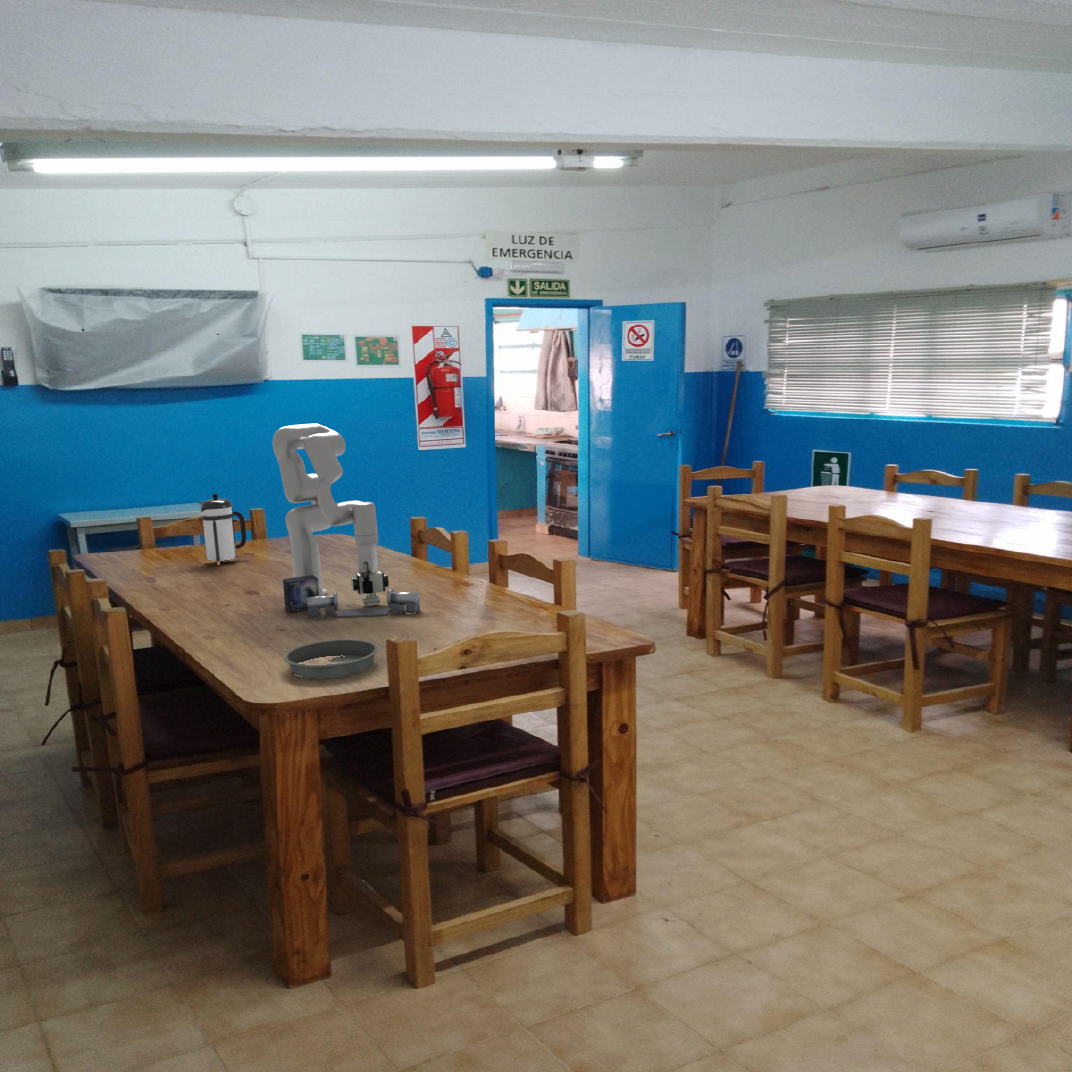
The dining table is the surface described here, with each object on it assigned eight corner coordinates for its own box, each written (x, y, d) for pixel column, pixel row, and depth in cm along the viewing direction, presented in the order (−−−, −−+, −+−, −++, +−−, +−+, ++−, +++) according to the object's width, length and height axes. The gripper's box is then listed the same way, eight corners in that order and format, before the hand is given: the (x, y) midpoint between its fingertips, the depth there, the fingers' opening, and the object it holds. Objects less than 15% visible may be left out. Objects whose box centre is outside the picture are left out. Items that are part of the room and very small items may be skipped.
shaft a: (308, 619, 329) (306, 596, 328) (309, 614, 335) (307, 592, 334) (338, 616, 330) (336, 593, 329) (338, 612, 336) (336, 589, 335)
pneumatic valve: (390, 604, 344) (387, 569, 342) (355, 608, 340) (352, 573, 338) (387, 601, 349) (384, 566, 347) (352, 605, 345) (349, 570, 344)
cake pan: (268, 681, 264) (267, 664, 264) (308, 654, 288) (307, 638, 287) (359, 682, 259) (357, 665, 258) (392, 655, 283) (391, 639, 282)
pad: (337, 617, 329) (337, 616, 329) (343, 611, 338) (343, 609, 337) (386, 615, 328) (386, 613, 328) (391, 609, 337) (391, 607, 337)
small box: (289, 613, 339) (286, 581, 338) (284, 609, 345) (281, 578, 343) (321, 608, 344) (318, 577, 342) (315, 604, 350) (313, 574, 348)
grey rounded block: (388, 614, 330) (386, 591, 328) (394, 610, 335) (392, 587, 334) (416, 614, 328) (414, 591, 327) (421, 609, 334) (420, 587, 332)
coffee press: (236, 565, 432) (229, 494, 427) (199, 567, 433) (191, 496, 428) (248, 557, 449) (242, 489, 444) (212, 559, 450) (205, 491, 445)
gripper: (360, 536, 350) (365, 585, 352) (350, 544, 333) (354, 596, 335) (382, 534, 349) (386, 584, 352) (373, 543, 332) (377, 595, 335)
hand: (371, 590), depth 344 cm, fingers open, 9 cm apart
